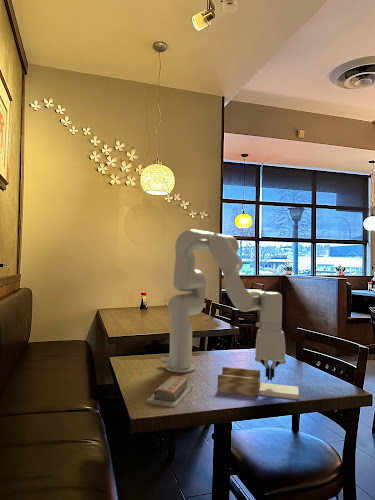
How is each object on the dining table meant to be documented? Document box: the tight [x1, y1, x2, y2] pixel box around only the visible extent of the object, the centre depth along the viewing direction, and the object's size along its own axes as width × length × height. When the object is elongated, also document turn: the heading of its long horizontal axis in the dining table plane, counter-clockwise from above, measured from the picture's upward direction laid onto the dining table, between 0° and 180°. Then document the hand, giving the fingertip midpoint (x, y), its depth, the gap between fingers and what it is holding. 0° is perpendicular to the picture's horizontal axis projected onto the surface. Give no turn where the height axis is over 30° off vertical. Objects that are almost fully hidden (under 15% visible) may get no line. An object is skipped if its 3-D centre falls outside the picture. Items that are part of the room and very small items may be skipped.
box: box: [217, 366, 261, 397], centre depth 128 cm, size 14×11×6 cm
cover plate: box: [258, 382, 300, 400], centre depth 124 cm, size 13×8×2 cm, turn 73°
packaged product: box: [146, 375, 193, 408], centre depth 120 cm, size 18×5×10 cm
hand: (269, 378), depth 125 cm, fingers closed
